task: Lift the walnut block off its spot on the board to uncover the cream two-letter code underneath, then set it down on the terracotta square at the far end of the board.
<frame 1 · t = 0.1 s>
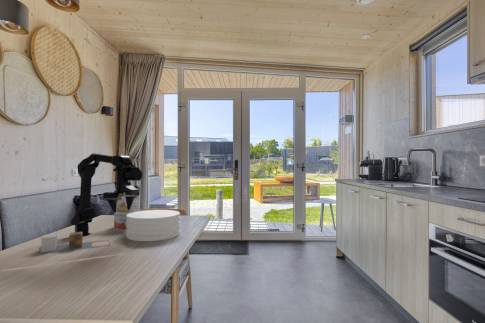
hand: (122, 211, 138), 15 cm above the table, tool pointing down, fingers open, 9 cm apart
plate stack: (153, 234, 150), on the table
code board: (75, 247, 124), on the table
cracker box: (126, 227, 167), on the table
grey block: (49, 249, 119), point 1 cm above the table, touching code board
walnut block: (75, 246, 124), point 1 cm above the table, touching code board
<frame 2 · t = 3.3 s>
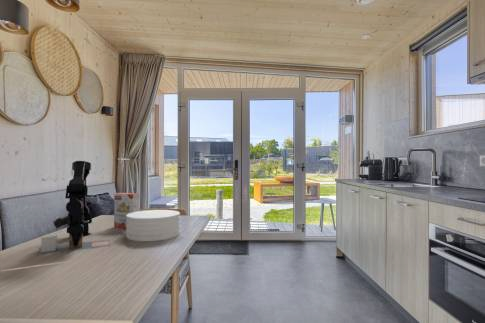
hand: (75, 244, 124), 2 cm above the table, tool pointing down, fingers closed on walnut block, 5 cm apart
walnut block: (75, 246, 124), point 1 cm above the table, touching code board, gripper
everything else where it was.
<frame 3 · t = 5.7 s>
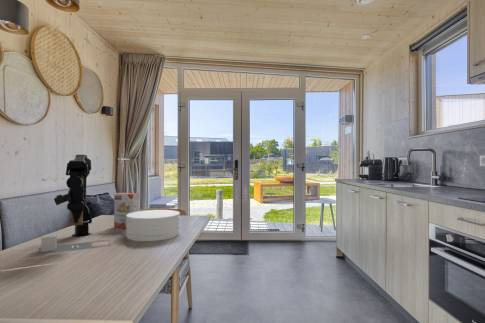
hand: (76, 222, 125), 12 cm above the table, tool pointing down, fingers closed on walnut block, 5 cm apart
walnut block: (76, 224, 125), point 11 cm above the table, touching gripper
everything else where it was.
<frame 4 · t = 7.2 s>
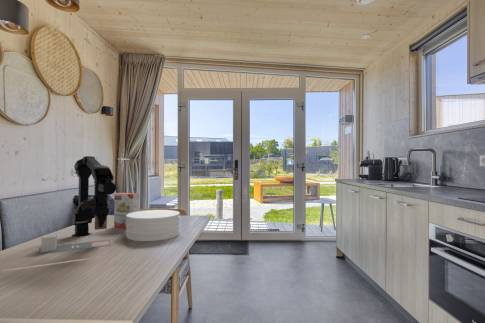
hand: (100, 226, 129), 9 cm above the table, tool pointing down, fingers closed on walnut block, 5 cm apart
walnut block: (100, 228, 129), point 8 cm above the table, touching gripper
everything else where it was.
when the fingers open (3 cm above the table, at t = 8.5 s): walnut block drops 2 cm, resting on code board.
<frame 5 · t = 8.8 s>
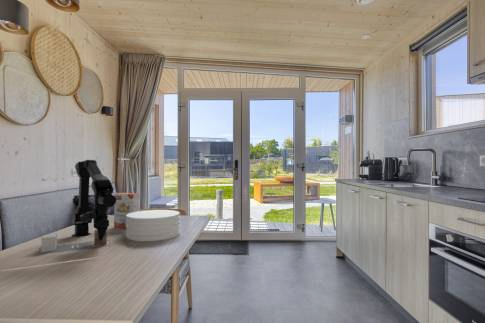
hand: (100, 238, 129), 3 cm above the table, tool pointing down, fingers open, 8 cm apart
walnut block: (100, 243, 129), point 1 cm above the table, touching code board
everything else where it was.
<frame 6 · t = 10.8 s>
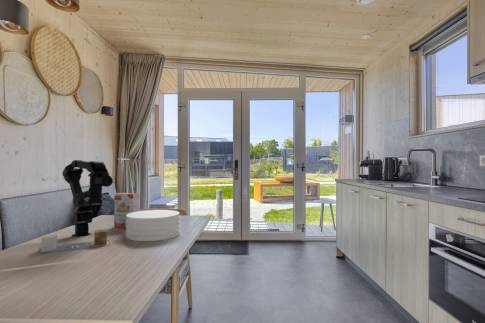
hand: (95, 215, 141), 12 cm above the table, tool pointing down, fingers open, 9 cm apart
nothing on the table moved.
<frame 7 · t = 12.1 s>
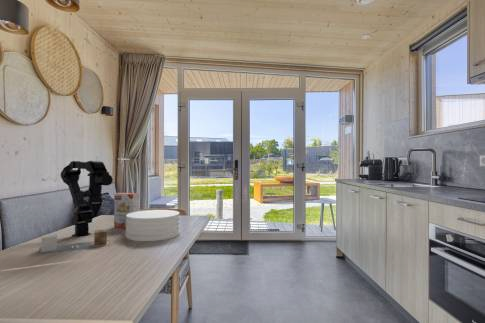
hand: (95, 214, 142), 12 cm above the table, tool pointing down, fingers open, 9 cm apart
nothing on the table moved.
at the end: walnut block 0.0 cm from the target spot, point 0.6 cm above the table; walnut block tilted 0°; grey block moved 0.1 cm from its start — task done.
